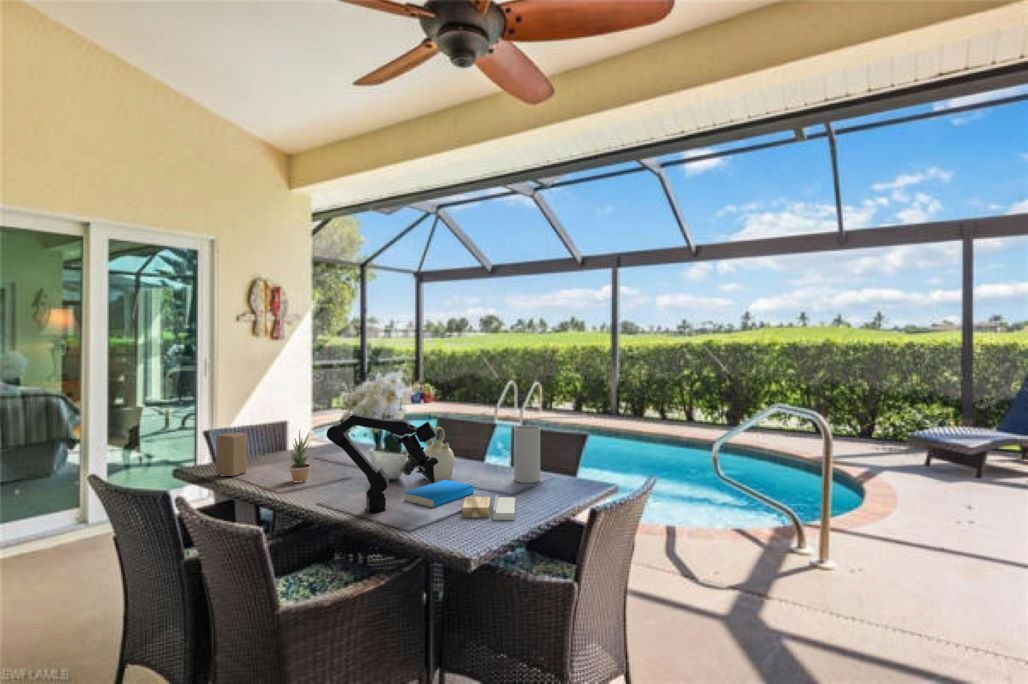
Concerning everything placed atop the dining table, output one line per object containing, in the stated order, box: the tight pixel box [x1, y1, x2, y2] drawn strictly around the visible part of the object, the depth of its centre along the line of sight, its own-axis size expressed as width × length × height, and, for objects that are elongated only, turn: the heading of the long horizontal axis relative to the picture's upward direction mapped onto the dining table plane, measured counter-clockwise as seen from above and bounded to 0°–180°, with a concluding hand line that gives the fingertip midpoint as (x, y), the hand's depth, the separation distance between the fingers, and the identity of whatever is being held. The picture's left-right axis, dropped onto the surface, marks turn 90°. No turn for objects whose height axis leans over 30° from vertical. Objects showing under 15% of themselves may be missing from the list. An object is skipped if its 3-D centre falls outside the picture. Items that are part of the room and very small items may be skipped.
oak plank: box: [461, 496, 491, 518], centre depth 214 cm, size 4×14×10 cm
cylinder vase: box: [513, 425, 541, 484], centre depth 261 cm, size 12×12×25 cm
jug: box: [424, 426, 455, 483], centre depth 263 cm, size 15×16×25 cm
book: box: [403, 480, 474, 508], centre depth 233 cm, size 17×4×25 cm
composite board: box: [492, 494, 516, 521], centre depth 214 cm, size 8×20×4 cm, turn 179°
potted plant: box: [289, 429, 312, 482], centre depth 258 cm, size 10×10×25 cm
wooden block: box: [215, 431, 248, 477], centre depth 270 cm, size 10×10×20 cm
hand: (433, 482), depth 217 cm, fingers closed
